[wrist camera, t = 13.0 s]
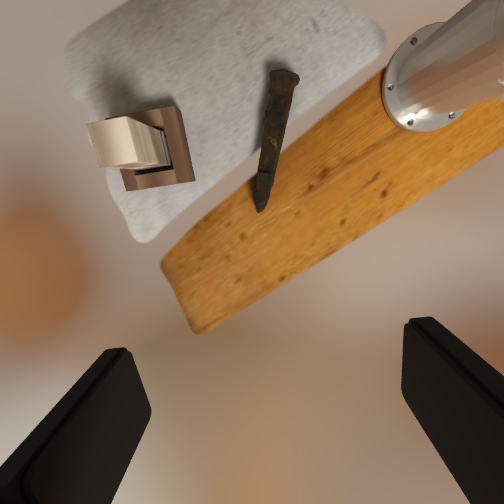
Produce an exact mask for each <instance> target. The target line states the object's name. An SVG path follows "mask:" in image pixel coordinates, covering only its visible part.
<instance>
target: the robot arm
mask: <svg viewBox="0 0 504 504" xmlns="http://www.w3.org/2000/svg"><path fill="white" fill-rule="evenodd" d="M411 44H412V45H411ZM388 88H389V90H388ZM503 95H504V0H472V1H471V2H470V3H468V4H467V5H466V6H465V7H464V8H462V9H461V10H460V11H459V12H458V13H456V14H455V15H454V16H453V17H452V18H450V19H449V20H448V21H447V22H438V23H434V24H430V25H427V26H425V27H423V28H421V29H419V30H418V31H416V32H415V33H414V34H412V35H411V36H410V37H408V38H407V39H406V40H405V41H404V42H403V43H402V44H401V45H400V47H399V48H398V49H397V50H396V52H395V53H394V54H393V56H392V58H391V59H390V61H389V63H388V65H387V68H386V71H385V73H384V78H383V82H382V98H383V104H384V107H385V110H386V112H387V114H388V116H389V117H390V119H391V120H392V121H393V122H394V123H395V124H396V125H398V126H399V127H400V128H402V129H404V130H407V131H410V132H417V133H420V132H429V131H433V130H436V129H439V128H442V127H444V126H446V125H448V124H450V123H451V122H453V121H454V120H455V119H457V118H458V117H459V116H460V115H461V114H462V113H463V112H464V111H465V110H466V109H467V108H468V107H470V106H473V105H476V104H479V103H482V102H485V101H488V100H491V99H494V98H497V97H500V96H503ZM407 122H408V124H407ZM401 390H402V394H403V397H404V399H405V401H406V403H407V404H408V406H409V407H410V409H411V410H412V412H413V414H414V415H415V417H416V419H417V420H418V421H419V423H420V425H421V426H422V428H423V430H424V431H425V433H426V434H427V436H428V437H429V439H430V441H431V442H432V444H433V445H434V447H435V448H436V450H437V452H438V453H439V455H440V456H441V458H442V460H443V461H444V462H445V464H446V466H447V467H448V469H449V471H450V472H451V474H452V475H453V477H454V478H455V480H456V482H457V483H458V485H459V486H460V488H461V490H462V491H463V493H464V494H465V496H466V497H467V499H468V500H469V502H470V504H504V376H503V375H502V374H500V373H499V372H498V371H497V370H495V369H494V368H493V367H492V366H491V365H490V364H488V363H487V362H486V361H485V360H483V359H482V358H481V357H480V356H479V355H478V354H476V353H475V352H474V351H473V350H472V349H470V348H469V347H468V346H467V345H465V344H464V343H463V342H462V341H460V339H458V338H457V337H456V336H455V335H454V334H452V333H451V332H450V331H449V330H448V329H446V328H445V327H444V326H443V325H441V324H440V323H439V322H438V321H437V320H435V319H434V318H433V317H419V318H411V319H410V320H409V323H407V324H405V325H404V336H403V360H402V382H401ZM150 417H151V407H150V404H149V401H148V398H147V395H146V392H145V390H144V387H143V384H142V381H141V378H140V376H139V373H138V370H137V367H136V365H135V361H134V359H133V356H132V354H131V352H130V351H127V349H126V348H112V349H107V350H105V351H104V352H103V353H102V354H101V355H100V356H99V357H98V359H97V360H96V361H95V362H94V363H93V364H92V365H91V367H90V368H89V369H88V370H87V371H86V372H85V373H84V374H83V375H82V377H81V378H80V379H79V380H78V381H77V382H76V383H75V384H74V385H73V386H72V388H71V389H70V390H69V391H68V392H67V393H66V394H65V395H64V396H63V398H62V399H61V400H60V401H59V402H58V403H57V404H56V405H55V407H54V408H53V409H52V410H51V411H50V412H49V413H48V414H47V415H46V416H45V418H44V419H43V420H42V421H41V422H40V423H39V424H38V425H37V426H36V428H35V429H34V430H33V431H32V432H31V433H30V434H29V435H28V437H27V438H26V439H25V440H24V441H23V442H22V443H21V444H20V445H19V447H18V448H17V449H16V450H15V451H14V452H13V453H12V454H11V455H10V457H9V458H8V459H7V460H6V461H5V462H4V463H3V464H2V465H1V467H0V504H111V503H112V500H113V498H114V496H115V494H116V492H117V490H118V487H119V485H120V483H121V481H122V479H123V477H124V474H125V472H126V470H127V468H128V466H129V464H130V461H131V459H132V457H133V455H134V453H135V450H136V448H137V446H138V444H139V442H140V440H141V437H142V435H143V433H144V431H145V429H146V426H147V424H148V422H149V420H150Z"/></svg>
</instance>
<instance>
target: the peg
mask: <svg viewBox="0 0 504 504" xmlns="http://www.w3.org/2000/svg"><path fill="white" fill-rule="evenodd" d="M87 127H88V130H89V134H90V137H91V140H92V143H93V146H94V150H95V153H96V156H97V159H98V162H99V166H100V167H101V168H120V169H137V170H141V169H142V170H143V169H149V168H155V167H161V166H168V165H171V164H173V163H172V159H171V154H170V150H169V146H168V141H167V137H165V136H164V133H163V132H162V131H160V130H157V129H155V128H152V127H150V126H148V125H145V124H143V123H141V122H138V121H136V120H134V119H131V118H129V117H127V116H125V117H119V118H114V119H108V120H103V121H97V122H92V123H87Z"/></svg>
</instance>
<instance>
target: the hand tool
mask: <svg viewBox="0 0 504 504" xmlns="http://www.w3.org/2000/svg"><path fill="white" fill-rule="evenodd" d="M270 79H271V88H270V98H269V102H268V106H267V110H266V115H265V117H264V121H263V122H264V134H263V141H262V147H261V153H260V159H259V165H258V172H257V177H256V182H255V197H254V198H255V199H254V201H255V205H256V208H257V213H260V212H262V211H263V210H264V208H265V206H266V205H267V203H268V200H269V197H270V191H271V188H272V186H273V183H274V176H275V172H276V168H277V163H278V158H279V155H280V151H281V147H282V142H283V138H284V133H285V128H286V124H287V120H288V116H289V111H290V107H291V103H292V96H293V91H294V87H295V86H296V85H298V84H299V80H300V78H299V76H298V75H297V74H296V73H293V72H290V71H287V70H285V69H280V70H274V71H271V72H270Z"/></svg>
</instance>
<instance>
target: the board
mask: <svg viewBox="0 0 504 504" xmlns="http://www.w3.org/2000/svg"><path fill="white" fill-rule="evenodd" d="M125 116H127V117H129V118H131V119H134V120H136V121H138V122H141V123H143V124H145V125H148V126H150V127H152V128H155V129H157V130H165V133H166V137H167V141H168V146H169V150H170V154H171V159H172V163H173V167H174V169H173V170H167V171H161V172H155V173H149V174H144V172H143V170H142V169H141V170H137V169H120V171H121V174H122V178H123V181H124V185H125V188H126V191H134V190H141V189H147V188H153V187H160V186H166V185H173V184H179V183H185V182H192V181H195V176H194V171H193V167H192V162H191V157H190V152H189V148H188V143H187V138H186V133H185V128H184V124H183V119H182V114H181V111H180V110H179V109H177V108H176V107H175V106H170V107H165V108H159V109H154V110H149V111H143V112H138V113H132V114H127V115H122V116H116V117H111V118H105V120H108V119H114V118H119V117H125Z"/></svg>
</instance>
